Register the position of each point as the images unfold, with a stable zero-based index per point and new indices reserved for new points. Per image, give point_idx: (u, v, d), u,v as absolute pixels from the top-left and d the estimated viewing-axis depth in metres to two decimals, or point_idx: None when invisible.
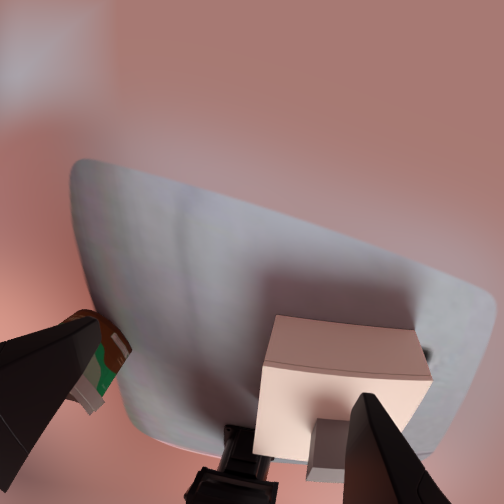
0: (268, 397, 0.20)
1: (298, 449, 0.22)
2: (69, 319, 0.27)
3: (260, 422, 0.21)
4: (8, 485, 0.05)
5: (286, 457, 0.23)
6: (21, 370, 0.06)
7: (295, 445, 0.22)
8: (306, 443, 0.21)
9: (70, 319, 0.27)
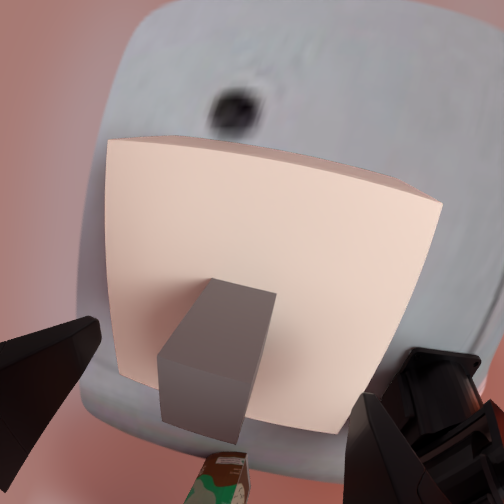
0: None
1: (322, 378, 0.12)
2: None
3: None
4: (8, 485, 0.05)
5: (355, 396, 0.12)
6: (21, 370, 0.06)
7: (303, 380, 0.12)
8: (298, 365, 0.12)
9: None
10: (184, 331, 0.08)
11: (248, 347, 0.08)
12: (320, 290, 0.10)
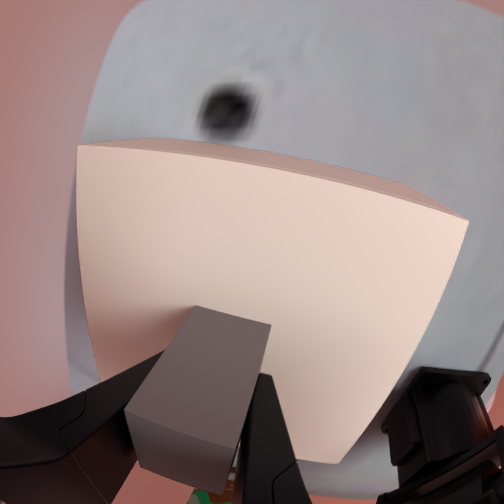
0: None
1: (322, 412, 0.10)
2: None
3: None
4: None
5: (358, 429, 0.10)
6: (111, 424, 0.06)
7: (301, 415, 0.10)
8: (296, 399, 0.10)
9: None
10: (158, 378, 0.06)
11: (234, 399, 0.06)
12: (322, 322, 0.09)
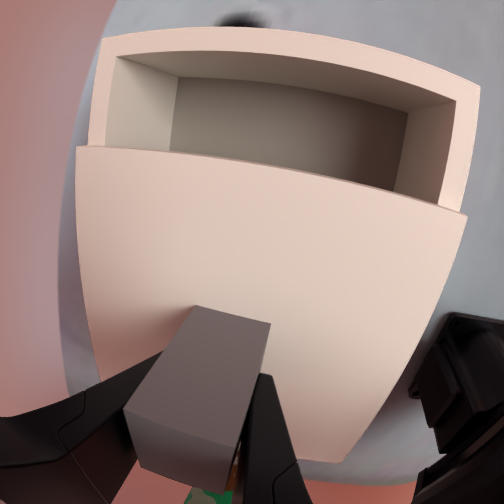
0: None
1: (323, 411, 0.10)
2: None
3: None
4: None
5: (360, 428, 0.10)
6: (111, 424, 0.06)
7: (303, 414, 0.10)
8: (297, 398, 0.10)
9: None
10: (158, 377, 0.06)
11: (233, 398, 0.06)
12: (322, 320, 0.09)
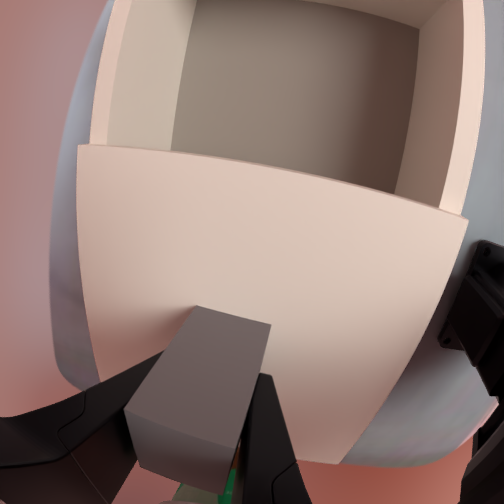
0: None
1: (322, 412, 0.10)
2: None
3: None
4: None
5: (358, 429, 0.10)
6: (111, 425, 0.06)
7: (301, 415, 0.10)
8: (296, 399, 0.10)
9: None
10: (158, 377, 0.06)
11: (233, 399, 0.06)
12: (322, 321, 0.09)
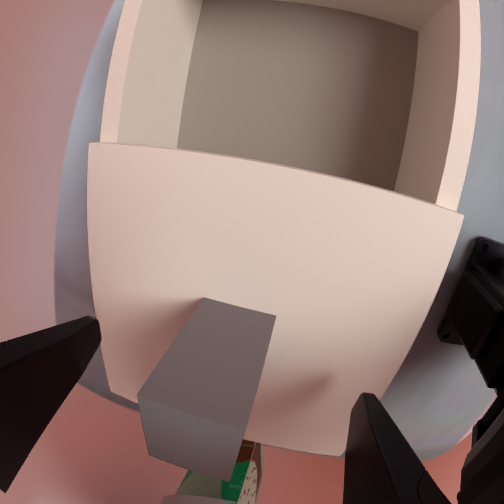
0: None
1: (325, 403, 0.10)
2: None
3: None
4: (8, 485, 0.05)
5: None
6: (21, 370, 0.06)
7: (304, 405, 0.11)
8: (300, 389, 0.10)
9: None
10: (169, 364, 0.07)
11: (242, 384, 0.07)
12: (325, 312, 0.09)
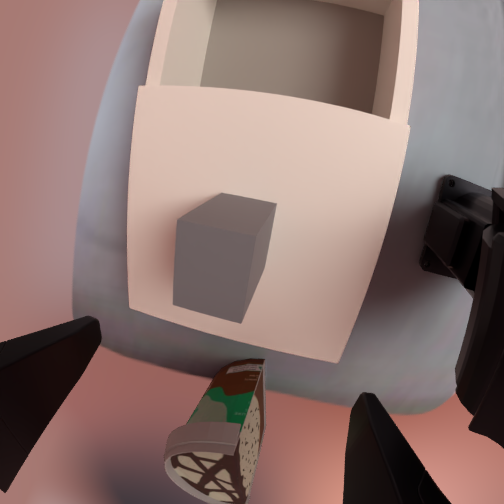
0: (177, 314, 0.16)
1: (320, 292, 0.14)
2: None
3: (236, 335, 0.15)
4: (8, 485, 0.05)
5: (352, 314, 0.14)
6: (21, 370, 0.06)
7: (302, 295, 0.14)
8: (298, 277, 0.14)
9: None
10: (200, 211, 0.10)
11: (253, 221, 0.10)
12: (313, 199, 0.12)
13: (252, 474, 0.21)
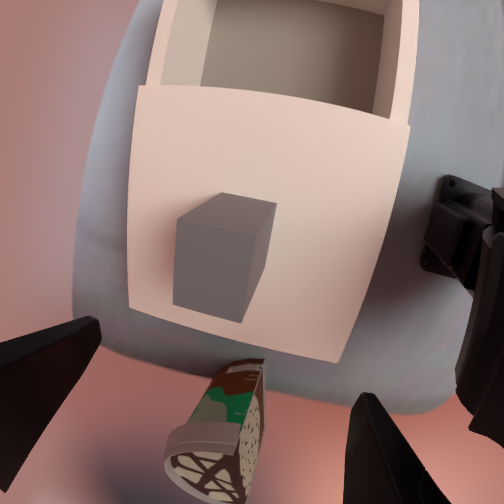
0: (177, 314, 0.16)
1: (320, 292, 0.14)
2: None
3: (235, 335, 0.15)
4: (8, 485, 0.05)
5: (352, 314, 0.14)
6: (21, 370, 0.06)
7: (302, 295, 0.14)
8: (298, 276, 0.14)
9: None
10: (200, 211, 0.10)
11: (253, 221, 0.10)
12: (313, 199, 0.12)
13: (252, 474, 0.21)
